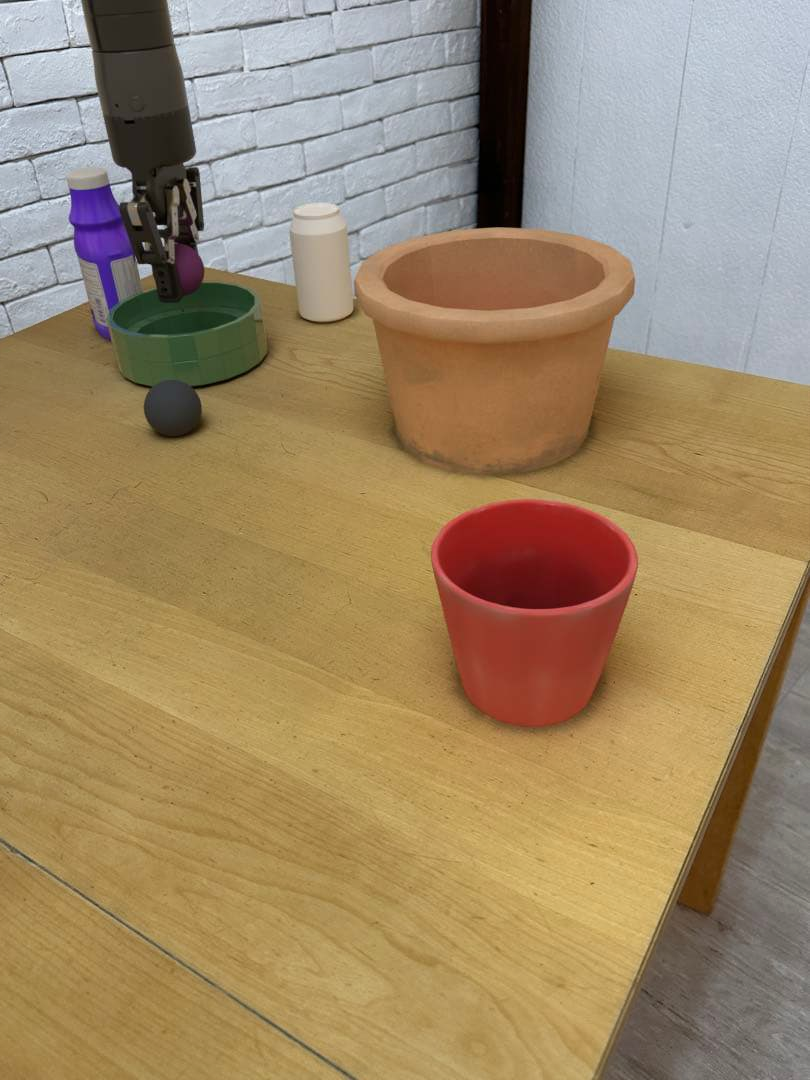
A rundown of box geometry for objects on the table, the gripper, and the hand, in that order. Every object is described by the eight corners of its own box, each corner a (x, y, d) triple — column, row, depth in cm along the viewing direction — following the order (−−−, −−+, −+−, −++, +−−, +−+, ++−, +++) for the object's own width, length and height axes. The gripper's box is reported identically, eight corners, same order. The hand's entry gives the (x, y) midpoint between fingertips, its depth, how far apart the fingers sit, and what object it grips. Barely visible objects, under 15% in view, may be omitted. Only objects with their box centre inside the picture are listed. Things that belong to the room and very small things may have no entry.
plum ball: (149, 303, 89) (138, 252, 86) (169, 285, 93) (159, 236, 90) (198, 304, 88) (188, 252, 85) (215, 286, 92) (206, 236, 89)
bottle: (160, 336, 100) (125, 172, 90) (111, 350, 98) (69, 182, 88) (137, 318, 106) (101, 160, 95) (89, 330, 103) (47, 170, 93)
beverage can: (314, 332, 100) (301, 221, 93) (291, 315, 104) (277, 207, 97) (364, 319, 102) (355, 210, 95) (339, 303, 106) (329, 197, 99)
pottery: (509, 356, 92) (512, 211, 83) (673, 440, 76) (696, 272, 68) (323, 419, 83) (305, 263, 74) (466, 528, 67) (464, 346, 59)
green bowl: (95, 392, 90) (80, 335, 86) (155, 332, 102) (143, 280, 98) (242, 397, 87) (232, 338, 84) (285, 335, 99) (278, 281, 96)
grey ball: (141, 445, 80) (128, 394, 77) (162, 419, 84) (151, 369, 81) (194, 448, 79) (183, 396, 76) (213, 421, 83) (204, 371, 80)
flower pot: (483, 604, 60) (484, 478, 54) (645, 656, 55) (664, 524, 50) (402, 707, 53) (393, 574, 47) (581, 777, 48) (594, 639, 42)
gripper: (138, 91, 87) (173, 267, 96) (68, 121, 75) (116, 318, 85) (212, 89, 85) (240, 267, 95) (153, 120, 74) (191, 319, 84)
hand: (181, 290), depth 90 cm, fingers closed on plum ball, 5 cm apart
